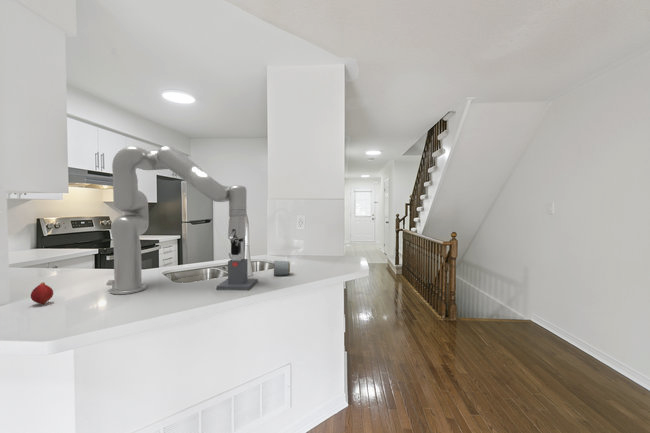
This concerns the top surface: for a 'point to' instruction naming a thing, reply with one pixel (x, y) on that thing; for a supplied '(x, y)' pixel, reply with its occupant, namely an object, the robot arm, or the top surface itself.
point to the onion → (42, 293)
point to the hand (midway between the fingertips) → (237, 253)
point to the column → (241, 252)
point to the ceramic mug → (281, 268)
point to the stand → (237, 277)
